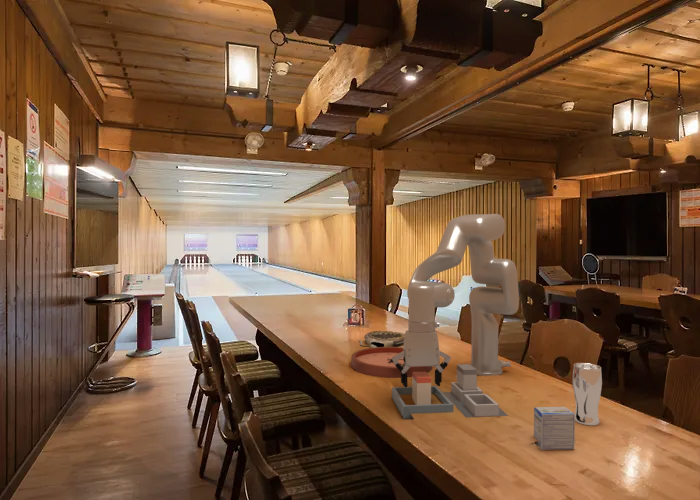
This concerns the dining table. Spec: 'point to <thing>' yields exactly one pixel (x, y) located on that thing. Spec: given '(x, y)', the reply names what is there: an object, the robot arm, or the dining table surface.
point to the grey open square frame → (412, 409)
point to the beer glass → (587, 392)
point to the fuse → (466, 377)
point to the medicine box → (554, 428)
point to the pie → (384, 338)
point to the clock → (381, 362)
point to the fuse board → (473, 402)
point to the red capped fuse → (421, 388)
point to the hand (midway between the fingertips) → (421, 385)
